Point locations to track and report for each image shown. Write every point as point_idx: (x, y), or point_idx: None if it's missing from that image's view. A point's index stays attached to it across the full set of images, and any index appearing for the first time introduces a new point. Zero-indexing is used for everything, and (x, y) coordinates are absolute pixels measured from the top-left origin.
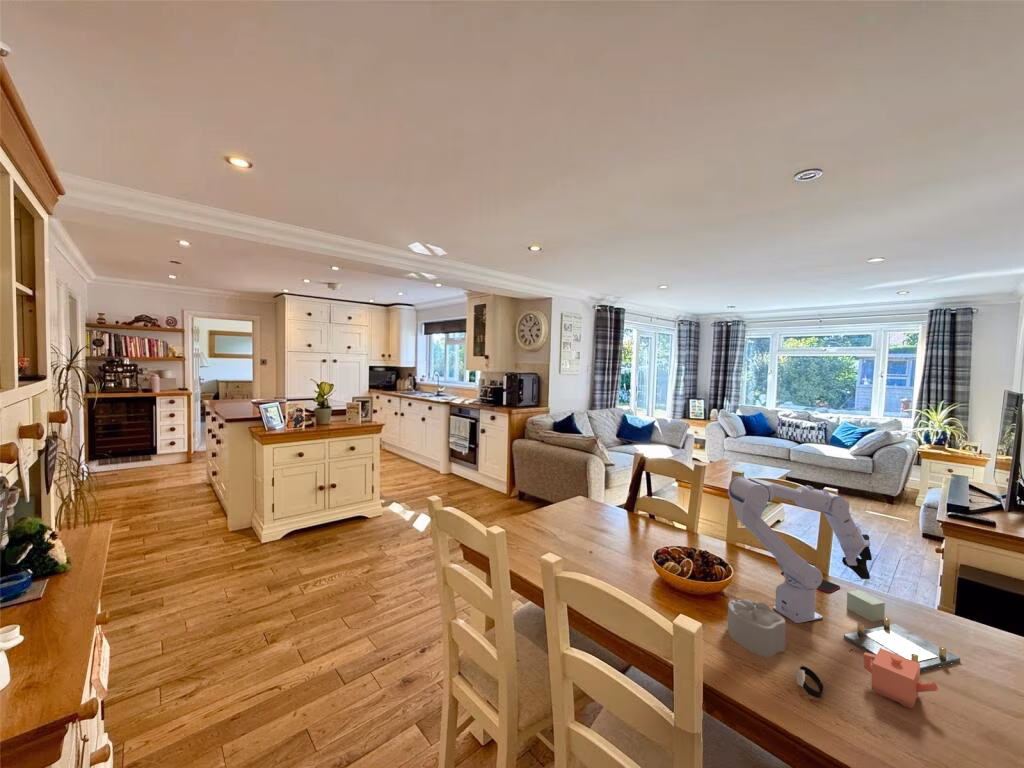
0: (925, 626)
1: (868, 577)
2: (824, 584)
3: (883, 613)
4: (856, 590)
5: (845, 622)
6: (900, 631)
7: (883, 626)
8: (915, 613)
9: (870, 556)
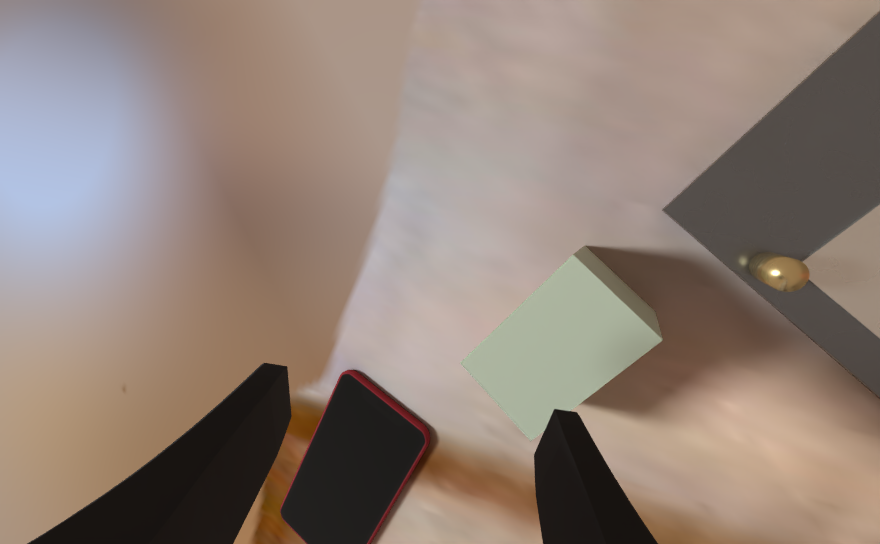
0: (554, 63)
1: (587, 436)
2: (363, 433)
3: (587, 254)
4: (477, 379)
5: (751, 454)
6: (768, 196)
7: (746, 278)
8: (429, 96)
9: (263, 404)
